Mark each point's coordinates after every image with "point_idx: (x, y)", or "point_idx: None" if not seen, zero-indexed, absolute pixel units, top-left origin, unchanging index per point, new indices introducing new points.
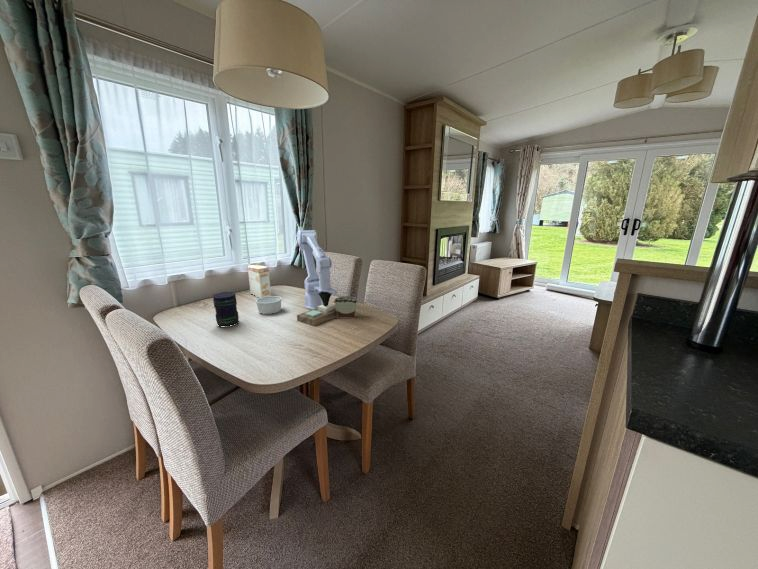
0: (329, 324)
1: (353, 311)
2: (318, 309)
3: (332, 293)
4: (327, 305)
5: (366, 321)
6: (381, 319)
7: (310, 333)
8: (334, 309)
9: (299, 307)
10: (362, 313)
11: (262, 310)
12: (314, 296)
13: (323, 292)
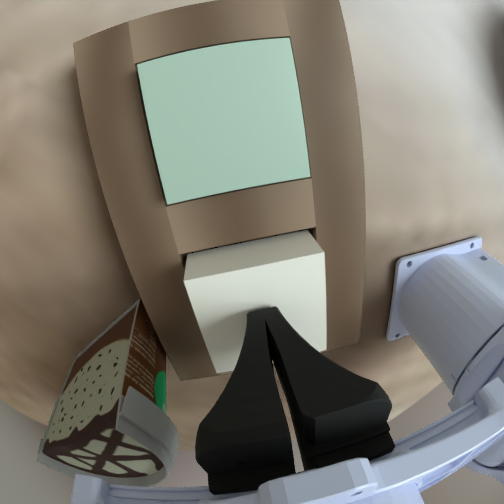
0: (47, 175)
1: (66, 387)
2: (304, 238)
3: (126, 492)
4: None
5: (16, 357)
6: (25, 399)
7: (20, 3)
8: (205, 345)
9: (493, 214)
10: None
11: None
12: (471, 330)
13: (318, 461)
